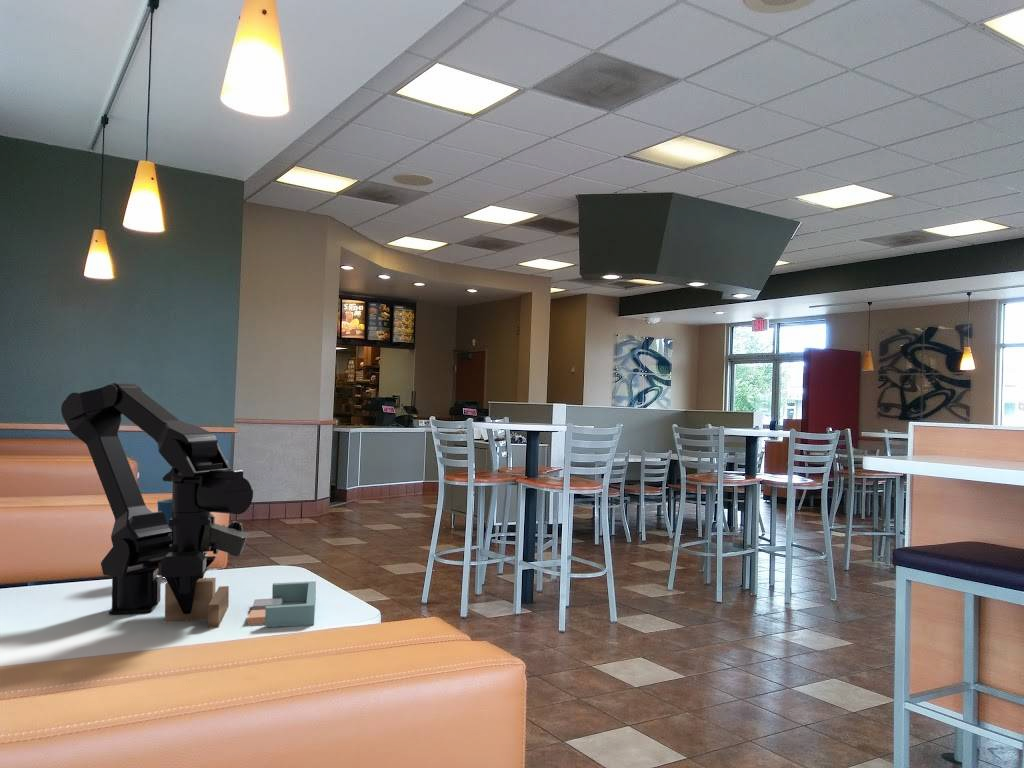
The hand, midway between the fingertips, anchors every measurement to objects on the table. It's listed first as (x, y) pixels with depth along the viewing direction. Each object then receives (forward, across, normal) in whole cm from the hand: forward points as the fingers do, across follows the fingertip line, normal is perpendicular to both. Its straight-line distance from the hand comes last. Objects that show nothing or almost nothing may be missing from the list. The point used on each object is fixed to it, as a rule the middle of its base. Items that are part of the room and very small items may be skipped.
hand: (190, 608), depth 122 cm
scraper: (+2, 0, 0) cm, 2 cm away
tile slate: (+2, +4, -12) cm, 12 cm away
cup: (+2, +32, +8) cm, 33 cm away
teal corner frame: (+2, 0, -15) cm, 15 cm away
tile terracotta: (+2, -4, -12) cm, 12 cm away
